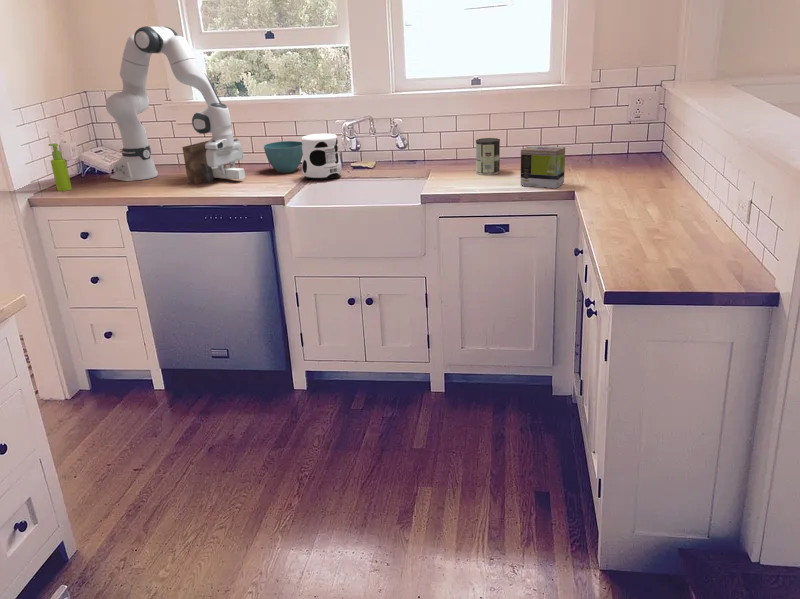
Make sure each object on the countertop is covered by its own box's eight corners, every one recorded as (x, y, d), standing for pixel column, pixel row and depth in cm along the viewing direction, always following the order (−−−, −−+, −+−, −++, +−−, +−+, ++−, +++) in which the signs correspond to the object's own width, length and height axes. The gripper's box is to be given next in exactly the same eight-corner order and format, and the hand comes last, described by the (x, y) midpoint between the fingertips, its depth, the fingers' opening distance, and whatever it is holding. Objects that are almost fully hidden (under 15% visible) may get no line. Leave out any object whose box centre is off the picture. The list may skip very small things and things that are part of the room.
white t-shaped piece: (206, 177, 312) (204, 164, 310) (218, 174, 318) (216, 161, 316) (236, 180, 304) (234, 166, 302) (248, 176, 310) (246, 163, 308)
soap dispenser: (66, 187, 314) (56, 142, 307) (74, 188, 310) (64, 143, 302) (53, 189, 310) (43, 144, 302) (61, 191, 306) (50, 145, 298)
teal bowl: (314, 168, 327) (311, 142, 323) (286, 176, 314) (283, 149, 309) (286, 165, 338) (284, 139, 333) (258, 172, 324) (255, 146, 320)
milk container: (309, 173, 318) (305, 133, 311) (346, 173, 315) (343, 132, 308) (298, 182, 303) (293, 140, 296) (336, 182, 299) (333, 139, 293)
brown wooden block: (188, 183, 310) (182, 147, 304) (218, 173, 326) (213, 139, 320) (202, 184, 306) (196, 147, 300) (232, 175, 322) (227, 139, 316)
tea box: (564, 183, 278) (566, 146, 273) (556, 189, 271) (557, 151, 265) (528, 180, 286) (529, 144, 280) (519, 186, 278) (520, 148, 272)
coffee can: (492, 169, 309) (492, 136, 304) (504, 173, 301) (504, 140, 295) (471, 171, 306) (471, 139, 301) (482, 176, 297) (482, 142, 292)
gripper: (233, 137, 315) (237, 167, 320) (201, 145, 298) (206, 177, 304) (244, 138, 312) (248, 168, 317) (213, 146, 295) (217, 178, 301)
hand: (227, 173), depth 310 cm, fingers closed on white t-shaped piece, 4 cm apart
